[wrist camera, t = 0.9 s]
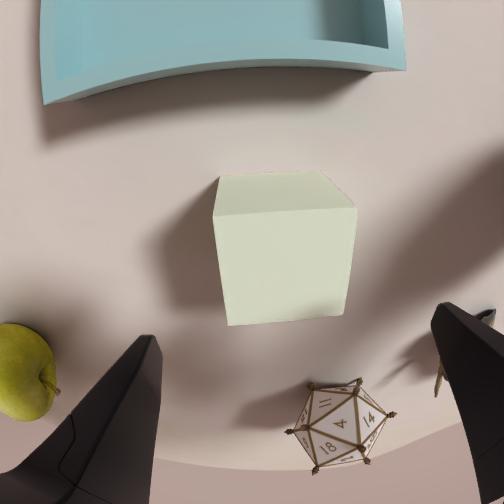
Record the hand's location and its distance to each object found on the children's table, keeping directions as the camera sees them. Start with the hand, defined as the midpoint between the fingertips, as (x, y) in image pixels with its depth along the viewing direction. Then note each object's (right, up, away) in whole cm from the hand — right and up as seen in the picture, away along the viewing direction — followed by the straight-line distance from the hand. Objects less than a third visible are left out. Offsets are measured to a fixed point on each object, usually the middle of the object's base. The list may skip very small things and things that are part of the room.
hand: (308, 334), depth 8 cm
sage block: (-1, +4, +7) cm, 8 cm away
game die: (+5, -10, +16) cm, 20 cm away
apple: (-21, -5, +11) cm, 24 cm away
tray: (-4, +18, -2) cm, 19 cm away
